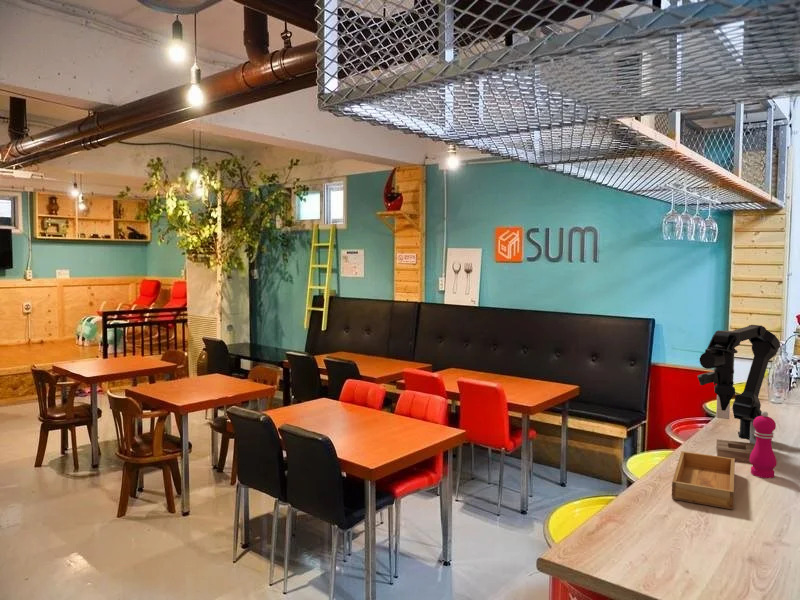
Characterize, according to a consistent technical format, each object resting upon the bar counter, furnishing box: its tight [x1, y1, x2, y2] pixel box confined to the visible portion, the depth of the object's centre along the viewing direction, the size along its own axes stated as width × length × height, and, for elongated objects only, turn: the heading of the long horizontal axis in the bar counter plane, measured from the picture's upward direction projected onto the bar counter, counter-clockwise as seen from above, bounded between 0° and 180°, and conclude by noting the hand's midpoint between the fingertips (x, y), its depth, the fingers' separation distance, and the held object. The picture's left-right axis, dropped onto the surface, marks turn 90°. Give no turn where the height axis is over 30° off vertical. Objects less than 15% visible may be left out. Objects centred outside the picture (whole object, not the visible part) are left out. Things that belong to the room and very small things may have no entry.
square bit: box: [716, 394, 731, 420], centre depth 212 cm, size 4×4×9 cm
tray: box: [671, 450, 736, 510], centre depth 174 cm, size 31×15×6 cm, turn 150°
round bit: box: [749, 421, 756, 444], centre depth 208 cm, size 4×4×9 cm
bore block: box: [716, 438, 755, 463], centre depth 200 cm, size 12×12×3 cm
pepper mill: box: [749, 410, 778, 479], centre depth 182 cm, size 7×7×20 cm
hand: (723, 409), depth 212 cm, fingers closed on square bit, 4 cm apart
